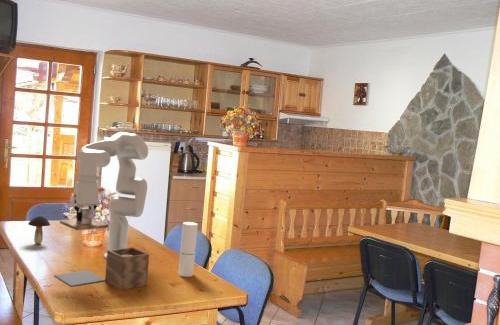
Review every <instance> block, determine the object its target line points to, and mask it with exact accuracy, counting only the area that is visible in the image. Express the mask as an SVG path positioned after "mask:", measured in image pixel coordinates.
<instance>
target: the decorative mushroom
mask: <svg viewBox="0 0 500 325" xmlns="http://www.w3.org/2000/svg"><path fill="white" fill-rule="evenodd" d="M28 225H29V226H31V227H35V232H34V236H33V237H34V238H33V241H34V243H35V244H36V245H38V244H42V243H43V239H44V237H43V236H44V234H43V232H44V231H43V227H49V226H51V224H50V221H49V220H48V219H47V218H45V217H44V216H36V217H33V218H32V219H30V220H29V221H28Z"/></svg>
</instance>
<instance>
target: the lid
mask: <svg viewBox="0 0 500 325" xmlns="http://www.w3.org/2000/svg"><path fill="white" fill-rule="evenodd" d="M81 212H82V221H81V222H80V221H77V219H75V218H73V219H61V220H59V224H61V225H63V226H65V227H67V228H71V229H72V230H75V231H83V230H93V229H95V230H96V229H107V228H109V224H106V223H104V222H102V221H99V220H97V219H94V218H93V215H92V212H94V211H93V210H91V209H88V208H87V207H82V210H81Z"/></svg>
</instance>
